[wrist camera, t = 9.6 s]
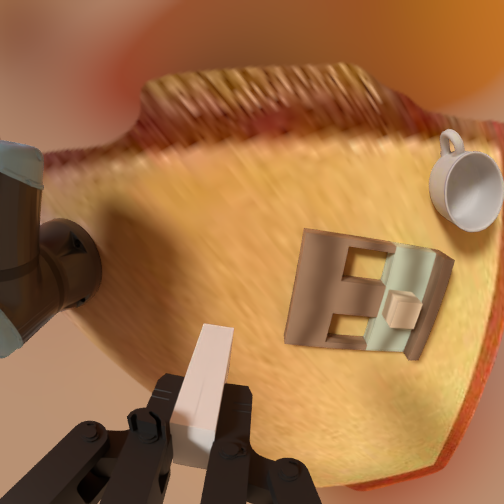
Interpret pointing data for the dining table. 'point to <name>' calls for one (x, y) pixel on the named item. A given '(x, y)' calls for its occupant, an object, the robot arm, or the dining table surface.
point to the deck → (363, 293)
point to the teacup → (466, 185)
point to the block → (401, 309)
